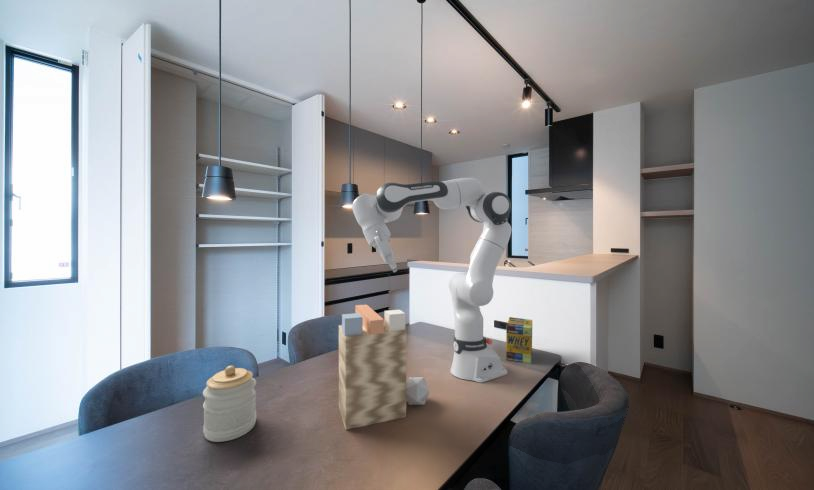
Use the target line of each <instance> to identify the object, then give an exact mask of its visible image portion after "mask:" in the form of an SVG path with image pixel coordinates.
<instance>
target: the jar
mask: <svg viewBox="0 0 814 490" xmlns="http://www.w3.org/2000/svg"><path fill="white" fill-rule="evenodd" d="M253 375H254V374H253V372H252V371H250V370H247V369H246V368H242V367H235V366H234V365H228V366H226V368H225V369H224V370H221V371H218V372H217V373H215V374H214V375H213V376H211V377H210V378H209V379H207V381H206V383H205V385H206V387H205V388H204V389H203V391H202V395H203V397H204V399H205V400H204V402H203V404H202V408H203V434H204V437H205V439H206V440H207V441H209V442H213V443H221V442H228V441H232V440H236V439H238V438H240V437H242V436H245V435H246V434H247V433H249V432H250V431H251V430H252V429H253V428H254V427H255V425H256V421H257V409H256V407H257V406H256V405H257V401H256V399H257V398H256V396H257V391H256V390H255V387H256V385H257V380H256V379H255V378H254V377H253Z"/></svg>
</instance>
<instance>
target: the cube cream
mask: <svg viewBox="0 0 814 490" xmlns="http://www.w3.org/2000/svg"><path fill="white" fill-rule="evenodd" d="M383 312H384V313H383V314H384V318H383V319H384V327H385V328H386V329H387V330H388V331H389V332H390V331H399V330H406V312H404V311H403V310H401V309H390V310H389V309H388V310H384V311H383Z"/></svg>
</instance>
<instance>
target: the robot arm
mask: <svg viewBox="0 0 814 490" xmlns="http://www.w3.org/2000/svg"><path fill="white" fill-rule="evenodd" d="M424 201H432V202H433V203H434V205H435V206H436V207H437V208H439V209H440V210H454V209H457V208H462V207H465V208H466V210H467V213H468V216H469V217H470V219H471V220H473V221H474V222H477V223H483V227H482V232H481V234H480V235H479V238H478V240H477V242H476V243H475V246H474V248H473V249H472V250H471V253H470V255H469V267H468V268H467V269H468V270H467V272H459V273H456V274H453V276H451V277H450V279H449V281H448V288H449V290H450V295H451V300H452V307H453V313H454V335H453V359H452V362H451V363H452V364H451V366H450V374H451V375H453V376H454V377H456V378H458V379H462V380H467V381H474V382H477V383H485V382H488V381H490V380H493V379H496V378H500V377H503V376H506V375H508V374H509V373H508V370H507V368H506V367H505V366H503V364H502V361H501V358H500V355H499V354H497V352H495V351H494V350H492V349H491V347H489V346H488V345H492V344H493V340H492V339H490V338H486V337H485V336H484V316H483V314H482V312H481V308H480V307H484V306H486V305H488V304H489V303H491V301H492V300H493V298H494V288H493V282H494V278H495V273H496V271H497V270H496V269H497V267H498V265H499V263H500V262H501V261H500V260H501V259H502V258H503V254H504V252H505V251H506V249H507V246H508V244H509V241H510V239H511V234H512V226H511V224H510V223H509V222H508V220H510V213H511V209H512V203H511V199H510V197H509V196H508V195H507V194H505V193H504V192H500V191H491V192H489V193H486V192H485V191H484V189H483V185H482V183H481V181H480V180H479V179H478V178H475V177H460V178H452V179H449V180H443V181H427V182H418V183H409V184H408V183H407V184H403V183H398V182H387V183H384V184H382V185H381V186H380V187H379V188H378V189H377V191H376V195H374V194H369V193H366V192H365V193H362V194H360V195H358V196H357V197H356V198H355V199H354V200H353V201H352V205H351V208H352V212H353V215H354V218H355V220H356V222H357V224H358V225H359V226H360V227H361V229H362V233H363V236H364V238H365V240H366V241H367V244H368V245H369V246H370V247H373V248H374V249H376V251H377V252H378V254H379V255H380V257H381V258H382V260H383V262H384V263H385V264H387V265H389V267H390V270H392V272H393V273H396V272H397V271H398V268H397V267H398V265H397V263H396V261H395V256H394V252H393V249H392V248H393V247H392V246H391V244H390V241H391V239H390V237H391V235H392V234H391V232H390V230H389V228H388V226H387V224H388V223H391V222H394V221H396V220H398V219H400V217H401V215H402V212H403V208H404V207H405V206H406V205H408V204H411V203H417V202H418V203H419V202H424ZM487 344H488V345H487Z"/></svg>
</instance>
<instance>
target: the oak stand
mask: <svg viewBox="0 0 814 490" xmlns="http://www.w3.org/2000/svg"><path fill="white" fill-rule="evenodd" d="M406 383H407V330H406V329H405V330H399V331H390V332H389V331H388V330H387V329H386V328H385V327H384V333H382V334H373V335H370V334H369V333H368V331H367V330H366V329H365V328H364V327H363V334H362V335H353V336H344V334H343V332H342V324H339V325H338V409H339V411H340V415H341V416H340V417H341V418H342V422H343V426H344V429H345V431H347V430H351V429H355V428H361V427H366V426H369V425H373V424H379V423H384V422H389V421H393V420H398V419H403V418H407V399H406Z"/></svg>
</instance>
